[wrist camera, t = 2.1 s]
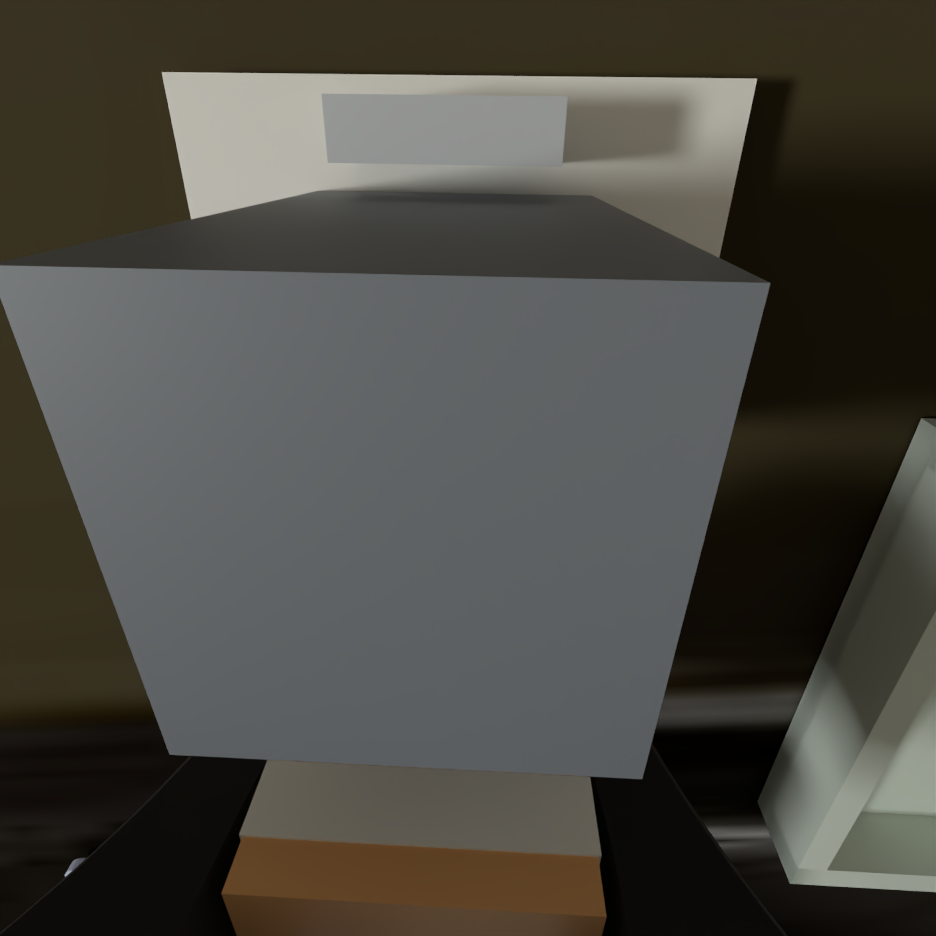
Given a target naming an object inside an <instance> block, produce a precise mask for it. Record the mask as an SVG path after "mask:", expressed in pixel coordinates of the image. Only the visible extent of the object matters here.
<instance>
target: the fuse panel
mask: <svg viewBox="0 0 936 936" xmlns="http://www.w3.org/2000/svg"><path fill="white" fill-rule="evenodd" d="M162 76H163V81H164V86H165V91H166V96H167V101H168V106H169V111H170V116H171V121H172V126H173V131H174V136H175V141H176V146H177V151H178V156H179V161H180V166H181V171H182V176H183V181H184V186H185V191H186V196H187V201H188V206H189V211H190V215H191V220H186V221H182V222H177V223H173V224H168V225H164V226H160V227H155V228H151V229H146V230H142V231H137V232H133V233H129V234H124V235H120V236H115V237H111V238H106V239H102V240H98V241H93V242H89V243H84V244H80V245H75V246H71V247H66V248H62V249H58V250H53V251H49V252H44V253H40V254H35V255H31V256H27V257H22V258H18V259H13V260H9V261H4V262H0V298H1V301H2V304H3V306H4V309H5V312H6V314H7V317H8V320H9V322H10V325H11V328H12V331H13V333H14V336H15V339H16V341H17V344H18V347H19V349H20V352H21V355H22V357H23V360H24V363H25V366H26V368H27V371H28V374H29V376H30V379H31V382H32V384H33V387H34V390H35V393H36V395H37V398H38V401H39V403H40V406H41V409H42V411H43V414H44V417H45V420H46V422H47V425H48V428H49V430H50V433H51V436H52V438H53V441H54V444H55V446H56V449H57V452H58V455H59V457H60V460H61V463H62V465H63V468H64V471H65V473H66V476H67V479H68V482H69V484H70V487H71V490H72V492H73V495H74V498H75V500H76V503H77V506H78V509H79V511H80V514H81V517H82V519H83V522H84V525H85V527H86V530H87V533H88V536H89V538H90V541H91V544H92V546H93V549H94V552H95V554H96V557H97V560H98V562H99V565H100V568H101V571H102V573H103V576H104V579H105V581H106V584H107V587H108V589H109V592H110V595H111V598H112V600H113V603H114V606H115V608H116V611H117V614H118V616H119V619H120V622H121V625H122V627H123V630H124V633H125V635H126V638H127V641H128V643H129V646H130V649H131V651H132V654H133V657H134V660H135V662H136V665H137V668H138V670H139V673H140V676H141V678H142V681H143V684H144V687H145V689H146V692H147V695H148V697H149V700H150V703H151V705H152V708H153V711H154V714H155V716H156V719H157V722H158V724H159V727H160V730H161V732H162V735H163V738H164V741H165V743H166V746H167V749H168V751H169V754H170V755H188V756H207V757H226V758H245V759H264V760H283V761H302V762H322V763H341V764H360V765H379V766H398V767H417V768H437V769H456V770H475V771H494V772H513V773H532V774H551V775H571V776H590V777H609V778H628V779H642V778H643V775H644V771H645V767H646V763H647V759H648V755H649V751H650V747H651V744H652V740H653V736H654V732H655V728H656V724H657V720H658V716H659V713H660V709H661V705H662V701H663V697H664V693H665V689H666V686H667V682H668V678H669V674H670V670H671V666H672V662H673V658H674V655H675V651H676V647H677V643H678V639H679V635H680V631H681V627H682V624H683V620H684V616H685V612H686V608H687V604H688V600H689V597H690V593H691V589H692V585H693V581H694V577H695V573H696V569H697V566H698V562H699V558H700V554H701V550H702V546H703V542H704V539H705V535H706V531H707V527H708V523H709V519H710V515H711V511H712V508H713V504H714V500H715V496H716V492H717V488H718V484H719V480H720V477H721V473H722V469H723V465H724V461H725V457H726V453H727V450H728V446H729V442H730V438H731V434H732V430H733V426H734V422H735V419H736V415H737V411H738V407H739V403H740V399H741V395H742V391H743V388H744V384H745V380H746V376H747V372H748V368H749V364H750V361H751V357H752V353H753V349H754V345H755V341H756V337H757V333H758V330H759V326H760V322H761V318H762V314H763V310H764V306H765V303H766V299H767V295H768V291H769V287H770V283H769V282H767V281H765V280H763V279H761V278H759V277H757V276H755V275H753V274H751V273H749V272H747V271H745V270H743V269H741V268H739V267H737V266H735V265H733V264H731V263H729V262H727V261H725V260H722V259H720V258H719V256H720V252H721V247H722V242H723V238H724V233H725V228H726V224H727V219H728V214H729V209H730V205H731V200H732V195H733V191H734V186H735V181H736V176H737V172H738V167H739V162H740V158H741V153H742V148H743V144H744V139H745V134H746V129H747V125H748V120H749V115H750V111H751V106H752V101H753V96H754V92H755V87H756V82H757V79H742V78H651V77H560V76H468V75H377V74H286V73H195V72H162Z"/></svg>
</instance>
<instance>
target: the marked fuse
mask: <svg viewBox="0 0 936 936" xmlns="http://www.w3.org/2000/svg"><path fill="white" fill-rule="evenodd" d="M239 837H240V840H241V842H240V845H239V847H238V850H237V853H236V855H235V858H234V861H233V863H232V866H231V869H230V871H229V874H228V877H227V880H226V882H225V885H224V888H223V890H222V893H221V894H222V897H223V900H224V902H225V905H226V908H227V911H228V913H229V916H230V919H231V921H232V924H233V927H234V929H235V932H236V935H237V936H602V933H603V929H604V925H605V921H606V917H607V916H606V909H605V902H604V895H603V888H602V881H601V874H600V866H599V865H600V861H601V856H602V854H601V847H600V841H599V834H598V827H597V820H596V813H595V806H594V799H593V793H592V786H591V779H590V777H587V776H571V775H551V774H532V773H513V772H494V771H475V770H456V769H437V768H417V767H398V766H379V765H360V764H341V763H322V762H302V761H283V760H267V762H266V765H265V767H264V770H263V773H262V775H261V778H260V781H259V783H258V786H257V789H256V791H255V794H254V796H253V799H252V802H251V804H250V807H249V810H248V812H247V815H246V818H245V820H244V823H243V825H242V828H241V831H240V833H239Z"/></svg>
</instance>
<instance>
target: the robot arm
mask: <svg viewBox="0 0 936 936" xmlns="http://www.w3.org/2000/svg"><path fill="white" fill-rule="evenodd" d="M266 762H267V760H264V759H245V758H226V757H207V756H190V757H189V758H188V759H187V760H186V761H185V762H184V763H183V764H182V765H181V766H180V767H179V768H178V769H177V770H176V771H175V772H174V773H173V774H172V775H171V776H170V777H169V779H168V780H167V781H166V782H165V783H164V784H163V785H162V786H161V787H160V788H159V789H158V790H157V791H156V792H155V793H154V794H153V795H152V796H151V797H150V798H149V799H148V800H147V801H146V802H145V803H144V804H143V805H142V806H141V807H140V808H139V809H138V810H137V811H136V812H135V813H134V814H133V815H132V816H131V817H130V818H129V819H128V820H127V821H126V822H125V823H123V824H122V825H121V826H120V827H119V828H118V829H117V830H116V831H115V832H114V833H113V834H112V835H111V836H110V837H109V838H108V839H107V840H105V841H104V842H103V843H102V844H101V845H100V846H99V847H98V848H97V849H96V850H95V851H94V852H92V853H91V854H90V855H89V856H88V857H84V858H78V859H76V860H74V861H73V862H72V864H71V865H70V867H69V869H68V870H67V872H66V874H65V878H64V879H62V880H61V881H60V882H59V883H58V884H57V885H55V886H54V887H53V888H52V889H51V890H50V891H49V892H47V893H46V894H45V895H44V896H43V897H42V898H41V899H39V900H38V901H37V902H36V903H35V904H34V905H32V906H31V907H30V908H29V909H28V910H27V911H26V912H24V913H23V914H22V915H21V916H20V917H19V918H18V919H16V920H15V921H14V922H13V923H12V924H10V925H9V926H8V927H7V928H6V929H4V930H3V931H2V932H1V933H0V936H237V935H236V932H235V929H234V927H233V924H232V921H231V919H230V916H229V913H228V911H227V908H226V905H225V902H224V900H223V897H222V894H221V893H222V890H223V888H224V885H225V882H226V880H227V877H228V874H229V871H230V869H231V866H232V863H233V861H234V858H235V855H236V853H237V850H238V847H239V845H240V842H241V840H240V837H239V833H240V831H241V828H242V825H243V823H244V820H245V818H246V815H247V812H248V810H249V807H250V804H251V802H252V799H253V796H254V794H255V791H256V789H257V786H258V783H259V781H260V778H261V775H262V773H263V770H264V767H265V765H266ZM587 777H590V776H587ZM590 779H591V786H592V793H593V799H594V806H595V813H596V820H597V827H598V834H599V841H600V847H601V854H602V856H601V861H600V865H599V866H600V874H601V881H602V888H603V895H604V902H605V909H606V916H607V917H606V921H605V925H604V929H603V933H602V936H787V934H786V933H785V932H784V931H783V929H782V928H781V927H780V925H779V924H778V923H777V922H776V920H775V919H774V918H773V917H772V915H771V914H770V913H769V912H768V910H767V909H766V908H765V906H764V905H763V904H762V902H761V901H760V900H759V899H758V897H757V896H756V895H755V893H754V892H753V891H752V889H751V888H750V887H749V885H748V884H747V883H746V881H745V880H744V879H743V877H742V876H741V875H740V873H739V872H738V871H737V869H736V868H735V867H734V865H733V864H732V863H731V861H730V860H729V858H728V857H727V856H726V854H725V853H724V851H723V850H722V849H721V847H720V846H719V844H718V843H717V842H716V840H715V839H714V837H713V836H712V834H711V833H710V832H709V830H708V829H707V827H706V826H705V824H704V823H703V821H702V820H701V818H700V817H699V815H698V814H697V812H696V811H695V810H694V808H693V807H692V805H691V804H690V802H689V801H688V799H687V798H686V796H685V795H684V793H683V792H682V790H681V788H680V787H679V785H678V784H677V782H676V781H675V779H674V778H673V776H672V774H671V773H670V771H669V770H668V768H667V766H666V765H665V763H664V762H663V760H662V758H661V757H660V755H659V753H658V752H657V750H656V748H655V747H654V745H653V743H652V744H651V747H650V751H649V755H648V759H647V763H646V767H645V771H644V775H643V778H642V779H628V778H609V777H590Z"/></svg>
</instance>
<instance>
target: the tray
mask: <svg viewBox="0 0 936 936" xmlns="http://www.w3.org/2000/svg"><path fill="white" fill-rule="evenodd" d="M757 802H758V805H759V807H760V810H761V812H762V815H763V817H764V820H765V822H766V825H767V827H768V830H769V832H770V835H771V837H772V840H773V842H774V845H775V847H776V850H777V852H778V855H779V857H780V860H781V862H782V865H783V868H784V870H785V873H786V875H787V878H788V880H789V883H790V884H806V885H823V886H840V887H858V888H875V889H892V890H910V891H927V892H936V419H929V418H921V420H920V422H919V425H918V427H917V429H916V432H915V434H914V436H913V439H912V441H911V443H910V446H909V448H908V450H907V453H906V455H905V458H904V460H903V462H902V465H901V467H900V469H899V472H898V474H897V476H896V479H895V481H894V483H893V486H892V488H891V490H890V493H889V495H888V497H887V500H886V502H885V504H884V507H883V509H882V511H881V514H880V516H879V518H878V521H877V523H876V525H875V528H874V530H873V532H872V535H871V537H870V539H869V542H868V544H867V546H866V549H865V551H864V553H863V556H862V558H861V560H860V563H859V565H858V567H857V570H856V572H855V574H854V577H853V579H852V581H851V584H850V586H849V588H848V591H847V593H846V595H845V598H844V600H843V602H842V605H841V607H840V609H839V612H838V614H837V616H836V619H835V621H834V624H833V626H832V628H831V631H830V633H829V635H828V638H827V640H826V642H825V645H824V647H823V649H822V652H821V654H820V656H819V659H818V661H817V663H816V666H815V668H814V670H813V673H812V675H811V677H810V680H809V682H808V684H807V687H806V689H805V691H804V694H803V696H802V698H801V701H800V703H799V705H798V708H797V710H796V712H795V715H794V717H793V719H792V722H791V724H790V726H789V729H788V731H787V733H786V736H785V738H784V740H783V743H782V745H781V747H780V750H779V752H778V754H777V757H776V759H775V761H774V764H773V766H772V768H771V771H770V773H769V775H768V778H767V780H766V783H765V785H764V787H763V790H762V792H761V794H760V797H759V799H758V801H757Z"/></svg>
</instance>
